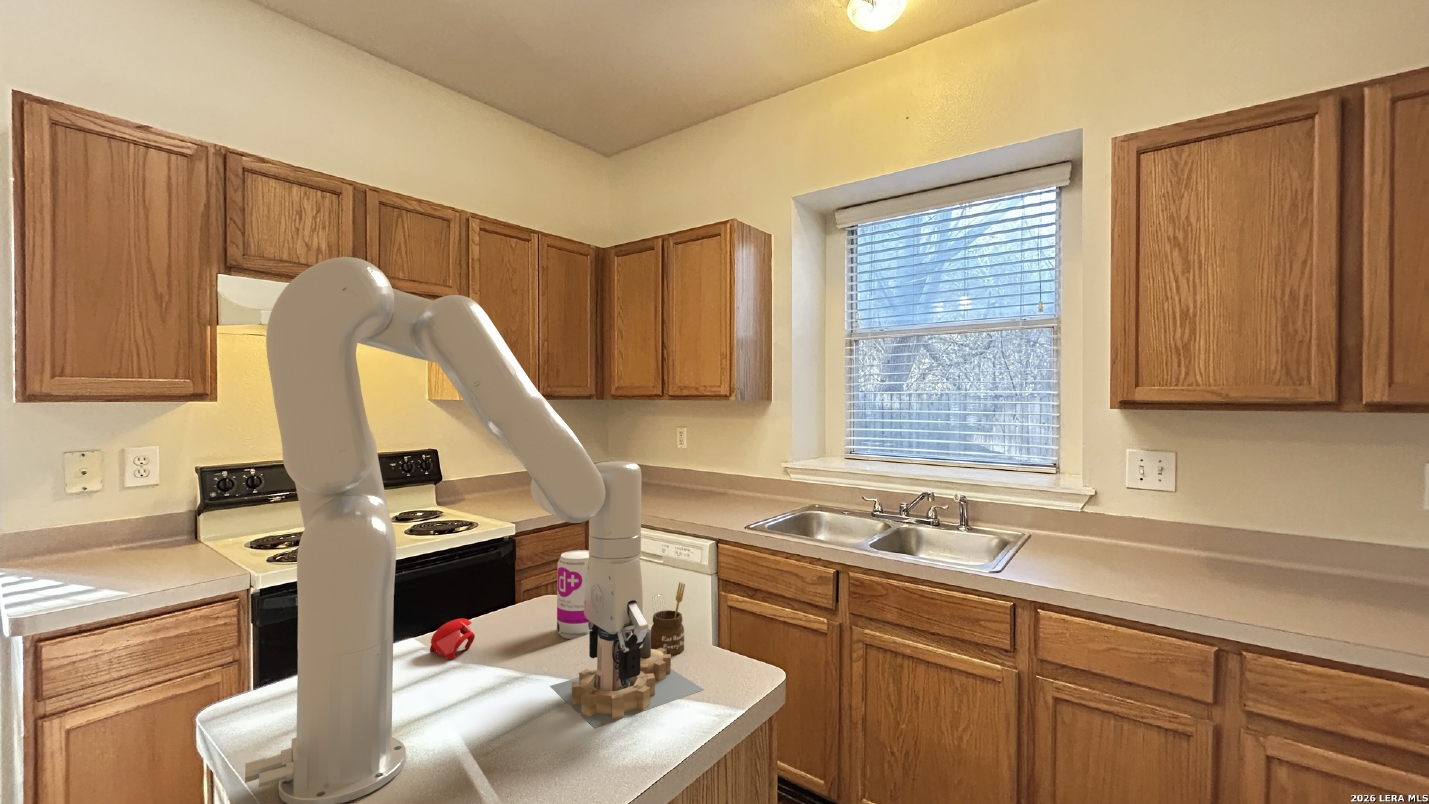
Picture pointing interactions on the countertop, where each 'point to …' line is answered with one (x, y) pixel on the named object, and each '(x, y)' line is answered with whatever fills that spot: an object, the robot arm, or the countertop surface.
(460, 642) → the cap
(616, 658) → the beer can
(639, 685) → the oak gear
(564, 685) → the gear board
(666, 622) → the utensil holder
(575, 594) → the supplement can
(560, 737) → the countertop surface
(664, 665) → the small gear
